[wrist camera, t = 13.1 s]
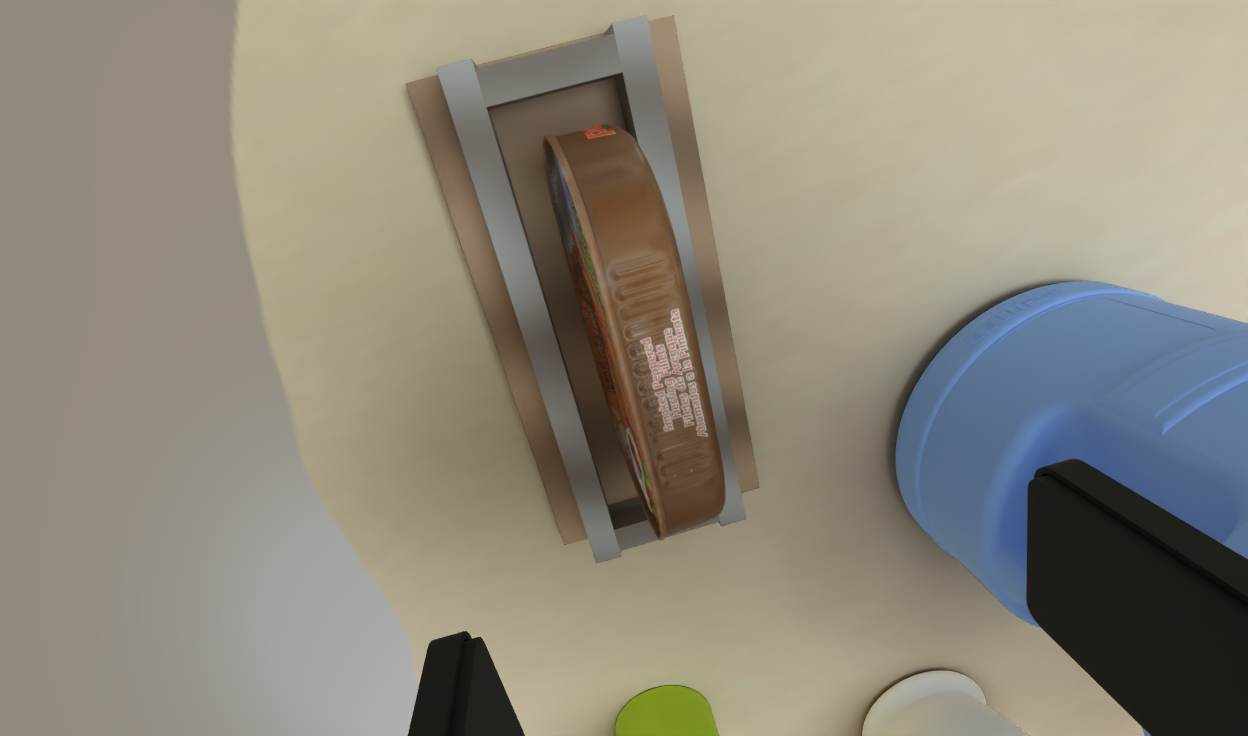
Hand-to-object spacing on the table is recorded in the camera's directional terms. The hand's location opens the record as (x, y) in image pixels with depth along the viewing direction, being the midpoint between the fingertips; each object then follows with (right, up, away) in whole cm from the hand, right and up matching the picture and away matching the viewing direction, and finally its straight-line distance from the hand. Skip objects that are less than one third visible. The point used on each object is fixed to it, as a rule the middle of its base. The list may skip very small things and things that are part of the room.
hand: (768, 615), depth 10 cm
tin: (-3, +7, +16) cm, 18 cm away
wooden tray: (-3, +7, +17) cm, 18 cm away
